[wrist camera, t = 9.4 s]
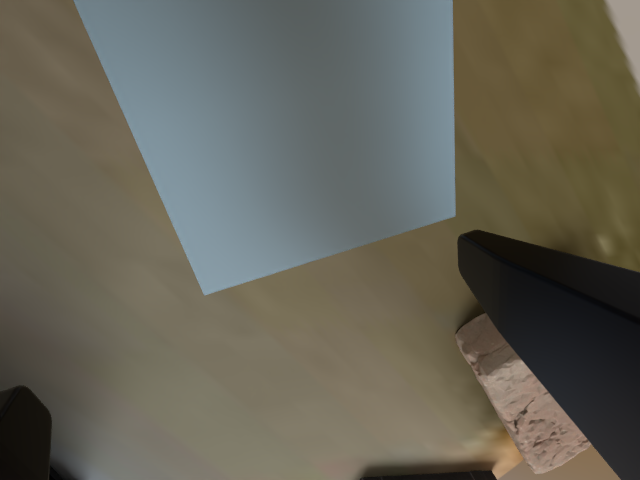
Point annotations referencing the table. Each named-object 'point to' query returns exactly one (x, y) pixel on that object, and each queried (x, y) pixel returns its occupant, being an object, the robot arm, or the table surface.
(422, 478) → the disk drive
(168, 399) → the table surface
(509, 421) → the brick
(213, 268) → the blue cube
